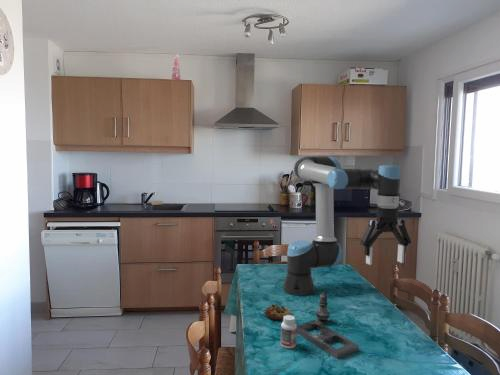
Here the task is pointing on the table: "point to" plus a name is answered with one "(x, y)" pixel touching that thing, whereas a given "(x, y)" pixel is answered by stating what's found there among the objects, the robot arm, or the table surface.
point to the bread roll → (276, 312)
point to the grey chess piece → (323, 310)
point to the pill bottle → (288, 332)
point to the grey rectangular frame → (327, 339)
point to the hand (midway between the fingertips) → (384, 263)
